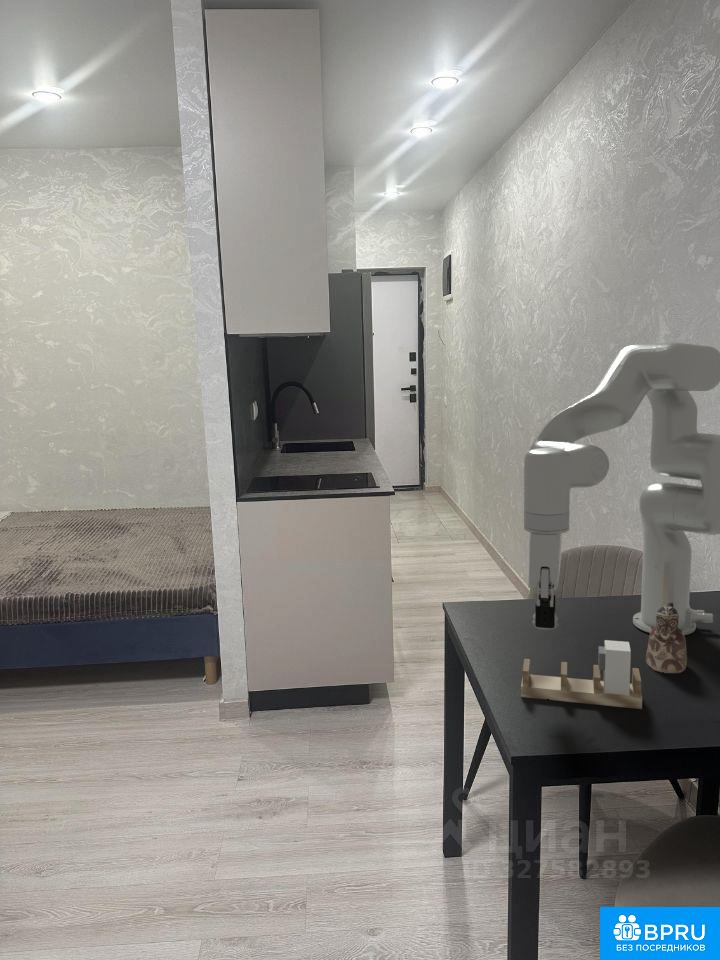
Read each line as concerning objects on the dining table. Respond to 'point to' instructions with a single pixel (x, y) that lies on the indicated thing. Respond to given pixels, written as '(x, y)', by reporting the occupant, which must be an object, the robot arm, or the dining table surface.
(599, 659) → the white and grey block
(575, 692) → the wooden slotted rack
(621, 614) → the dining table surface
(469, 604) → the dining table surface
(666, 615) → the figurine
